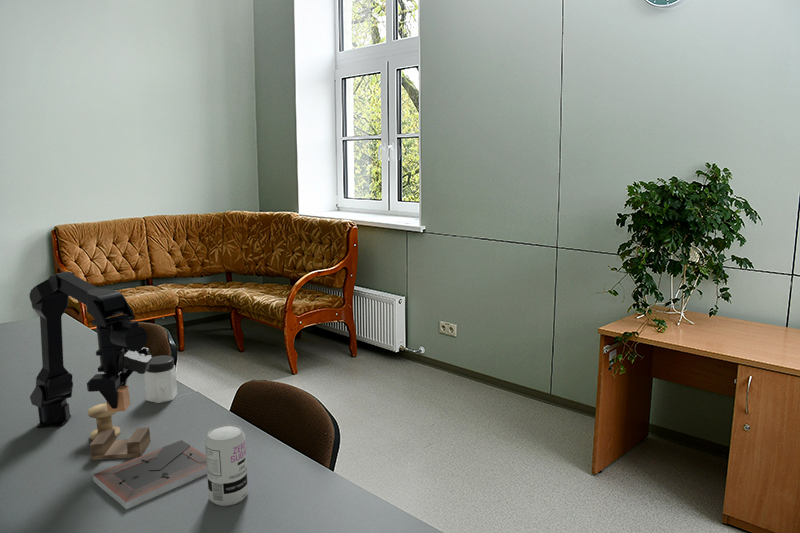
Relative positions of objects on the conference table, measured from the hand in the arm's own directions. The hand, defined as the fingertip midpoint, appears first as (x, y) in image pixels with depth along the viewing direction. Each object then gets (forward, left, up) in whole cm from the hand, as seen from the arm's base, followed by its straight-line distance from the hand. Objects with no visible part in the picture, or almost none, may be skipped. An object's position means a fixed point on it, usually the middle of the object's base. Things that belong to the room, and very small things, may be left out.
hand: (117, 404), depth 149 cm
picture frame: (+12, -13, -13) cm, 22 cm away
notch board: (0, 0, -12) cm, 12 cm away
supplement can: (+30, -24, -12) cm, 40 cm away
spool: (-7, +9, -12) cm, 17 cm away
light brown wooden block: (0, 0, -1) cm, 1 cm away
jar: (+1, +33, -12) cm, 35 cm away
